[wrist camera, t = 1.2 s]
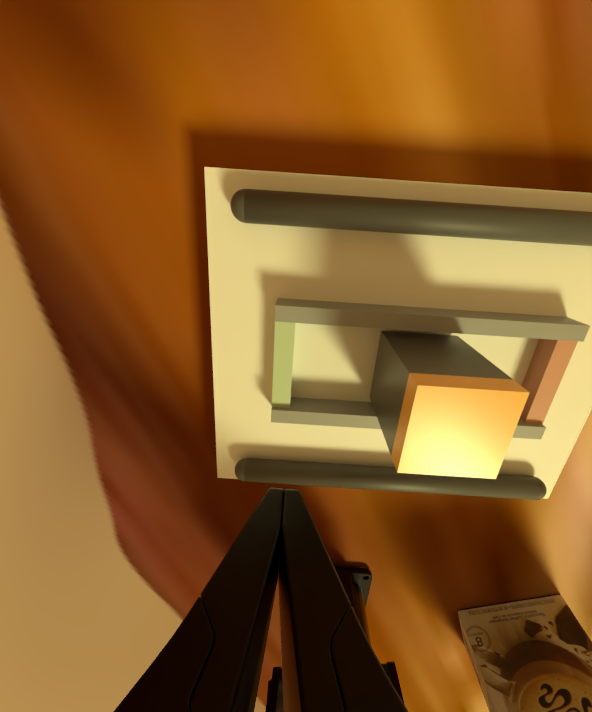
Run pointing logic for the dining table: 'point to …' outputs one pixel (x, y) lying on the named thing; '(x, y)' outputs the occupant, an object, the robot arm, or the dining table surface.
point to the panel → (389, 319)
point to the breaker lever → (443, 405)
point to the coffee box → (530, 656)
